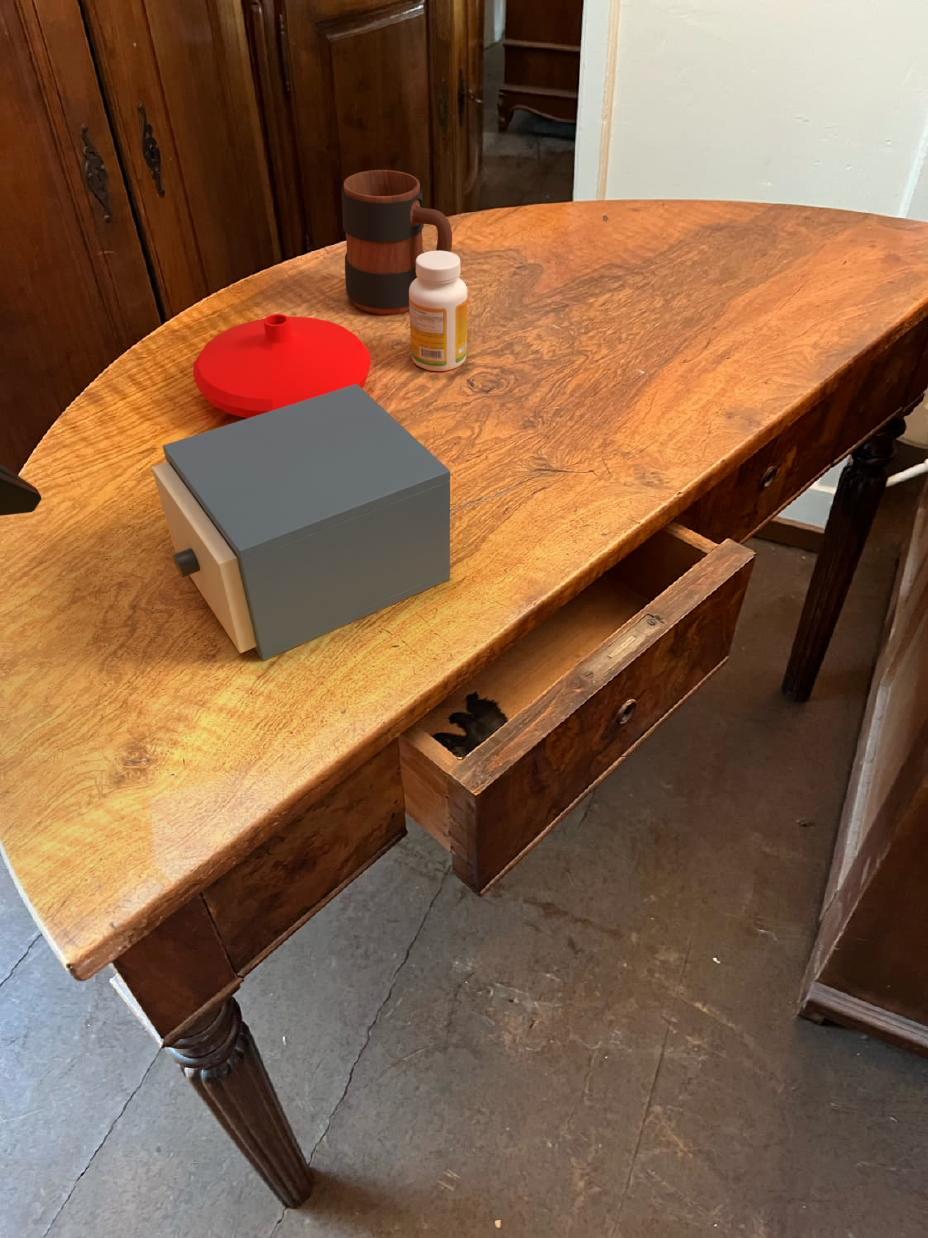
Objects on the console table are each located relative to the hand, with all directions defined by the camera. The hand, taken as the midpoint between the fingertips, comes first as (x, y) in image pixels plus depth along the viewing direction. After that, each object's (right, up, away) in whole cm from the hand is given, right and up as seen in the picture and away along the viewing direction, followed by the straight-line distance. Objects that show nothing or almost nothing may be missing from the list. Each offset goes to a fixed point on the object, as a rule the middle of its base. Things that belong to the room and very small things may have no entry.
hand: (36, 501), depth 48 cm
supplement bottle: (+21, +19, +38) cm, 47 cm away
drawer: (+11, -3, +15) cm, 19 cm away
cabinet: (+13, -3, +17) cm, 21 cm away
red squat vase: (+7, +14, +33) cm, 37 cm away
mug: (+17, +27, +46) cm, 56 cm away
